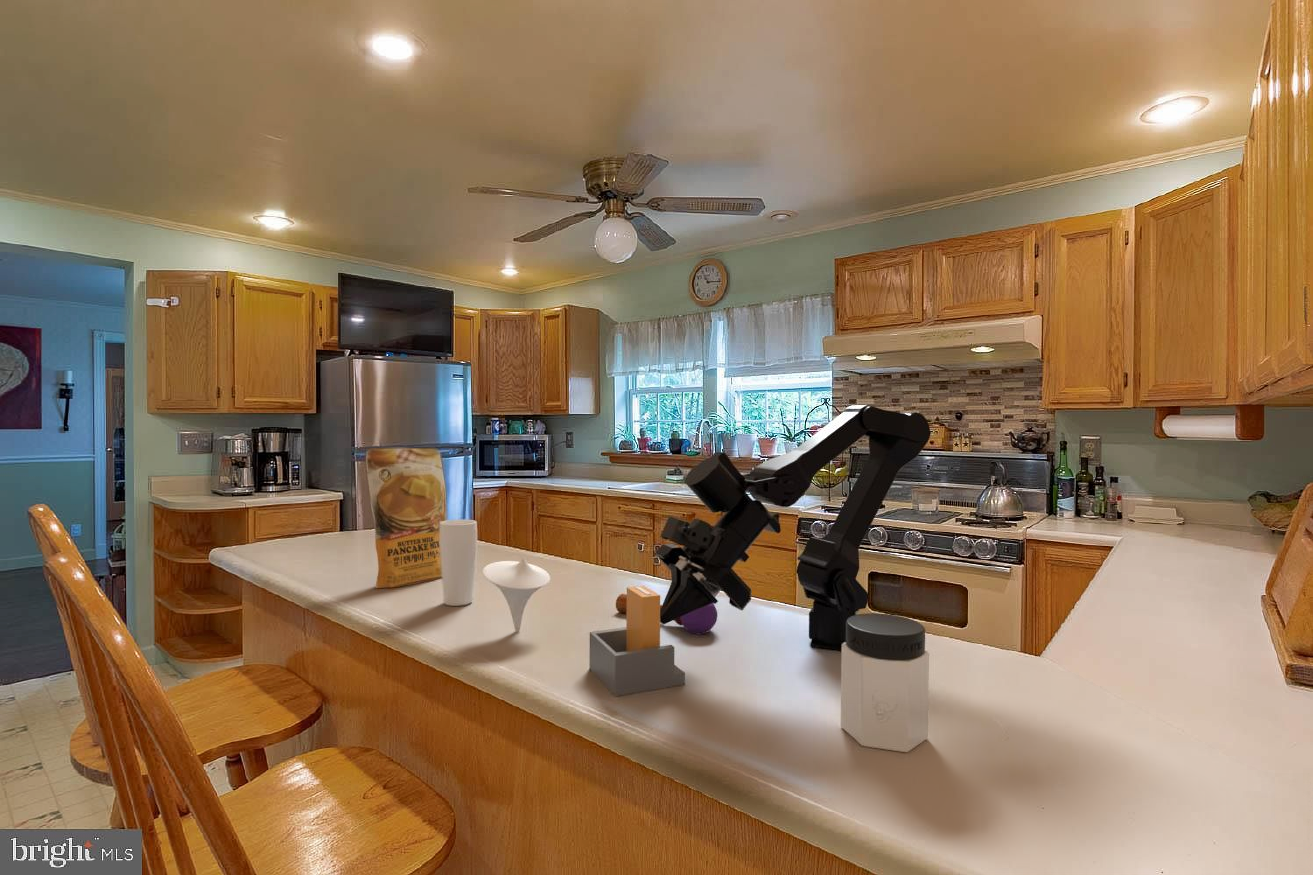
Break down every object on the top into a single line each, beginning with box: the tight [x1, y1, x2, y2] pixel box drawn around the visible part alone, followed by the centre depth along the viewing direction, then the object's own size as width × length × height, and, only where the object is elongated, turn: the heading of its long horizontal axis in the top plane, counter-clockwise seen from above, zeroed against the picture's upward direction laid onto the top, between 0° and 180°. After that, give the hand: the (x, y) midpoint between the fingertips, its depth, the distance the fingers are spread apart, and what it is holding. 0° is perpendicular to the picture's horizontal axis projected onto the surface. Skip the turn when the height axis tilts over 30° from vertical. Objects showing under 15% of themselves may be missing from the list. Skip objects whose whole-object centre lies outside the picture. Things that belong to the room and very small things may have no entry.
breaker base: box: [588, 626, 686, 697], centre depth 87 cm, size 10×10×5 cm
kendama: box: [615, 593, 718, 635], centre depth 111 cm, size 6×6×20 cm
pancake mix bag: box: [364, 447, 448, 589], centre depth 138 cm, size 7×19×28 cm, turn 142°
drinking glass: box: [439, 518, 478, 607], centre depth 122 cm, size 7×7×15 cm
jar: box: [840, 612, 930, 754], centre depth 72 cm, size 9×8×12 cm
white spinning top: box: [482, 557, 551, 633], centre depth 106 cm, size 10×11×12 cm
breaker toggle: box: [625, 585, 661, 651], centre depth 88 cm, size 2×6×10 cm, turn 24°
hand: (660, 621), depth 89 cm, fingers closed
